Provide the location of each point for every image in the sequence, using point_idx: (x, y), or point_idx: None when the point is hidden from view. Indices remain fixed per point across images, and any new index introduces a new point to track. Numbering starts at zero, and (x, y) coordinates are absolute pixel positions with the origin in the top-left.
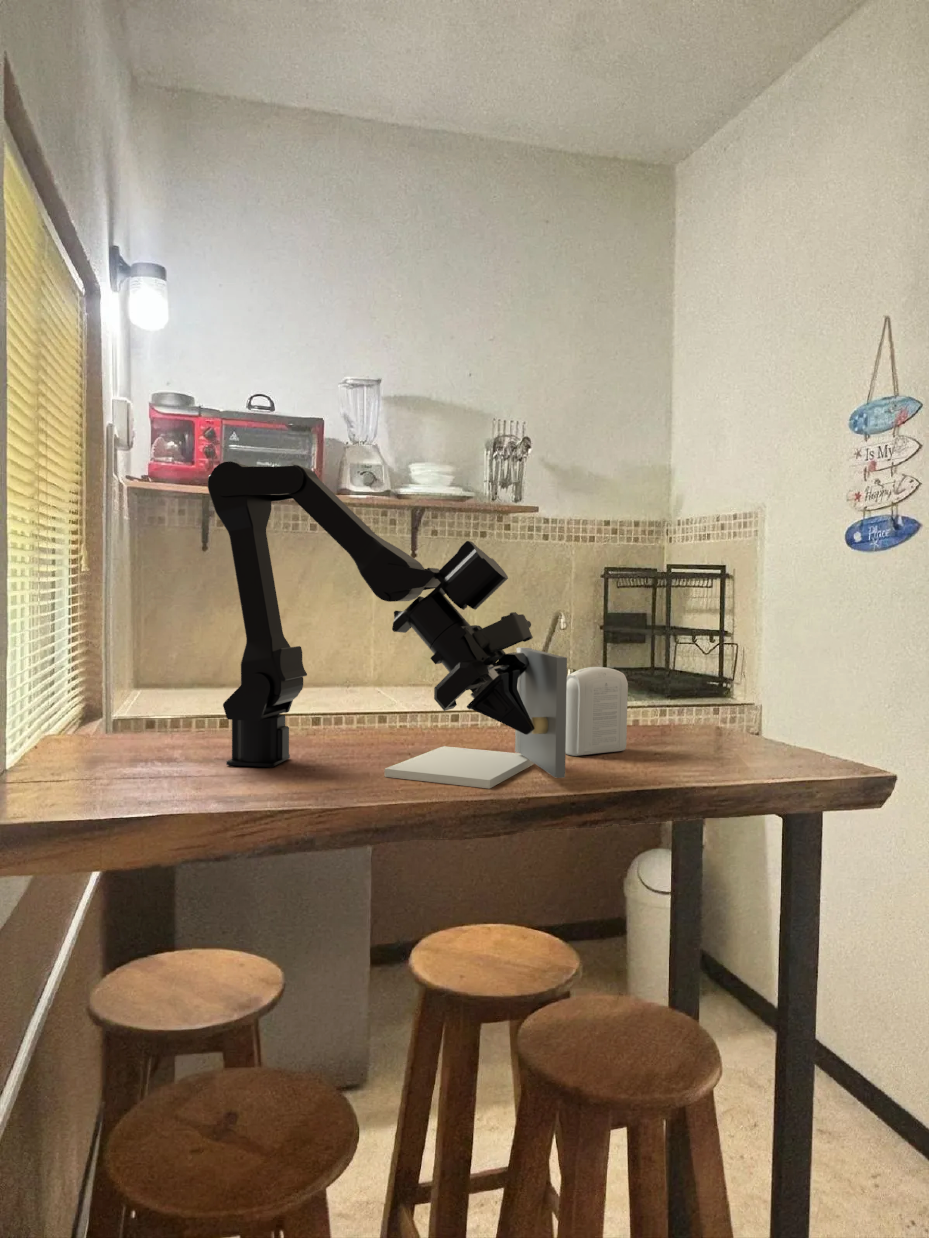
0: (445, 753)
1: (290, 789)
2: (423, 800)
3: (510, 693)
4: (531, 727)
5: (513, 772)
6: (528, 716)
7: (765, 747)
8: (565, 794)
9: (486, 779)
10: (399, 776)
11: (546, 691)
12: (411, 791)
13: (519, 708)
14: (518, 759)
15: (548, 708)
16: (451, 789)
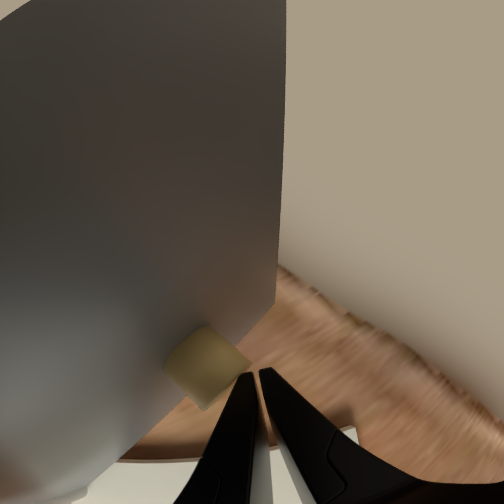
0: None
1: None
2: (478, 430)
3: (322, 500)
4: (270, 369)
5: (198, 458)
6: (235, 404)
7: None
8: (286, 279)
9: (354, 436)
10: None
11: (132, 311)
12: None
13: (296, 425)
14: (115, 480)
15: (195, 305)
16: (399, 467)
